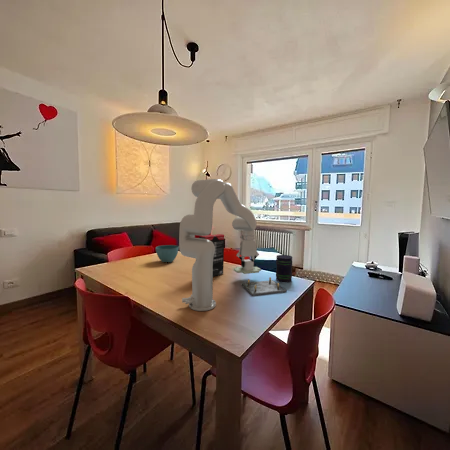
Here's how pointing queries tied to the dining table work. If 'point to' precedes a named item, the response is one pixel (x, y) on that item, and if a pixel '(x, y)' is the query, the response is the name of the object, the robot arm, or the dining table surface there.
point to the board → (240, 270)
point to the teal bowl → (167, 252)
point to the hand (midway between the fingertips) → (247, 266)
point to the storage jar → (284, 268)
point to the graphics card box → (217, 252)
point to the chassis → (263, 287)
